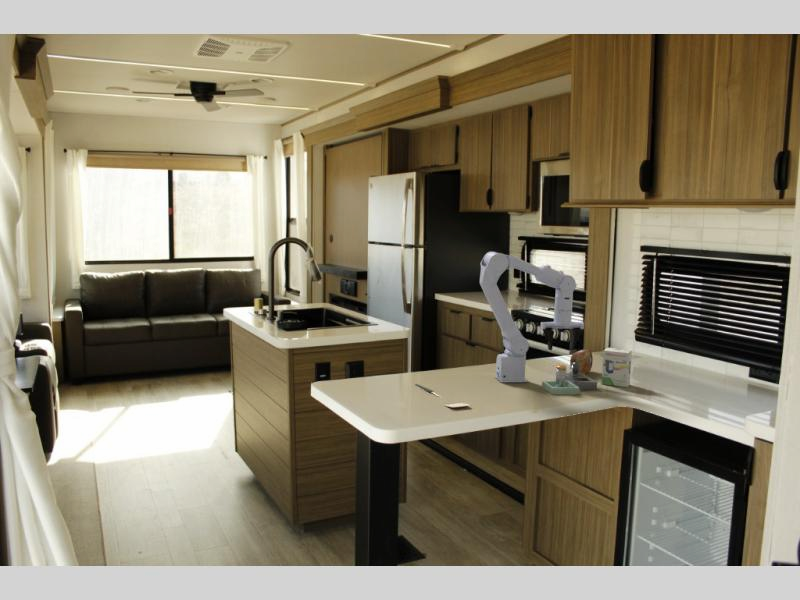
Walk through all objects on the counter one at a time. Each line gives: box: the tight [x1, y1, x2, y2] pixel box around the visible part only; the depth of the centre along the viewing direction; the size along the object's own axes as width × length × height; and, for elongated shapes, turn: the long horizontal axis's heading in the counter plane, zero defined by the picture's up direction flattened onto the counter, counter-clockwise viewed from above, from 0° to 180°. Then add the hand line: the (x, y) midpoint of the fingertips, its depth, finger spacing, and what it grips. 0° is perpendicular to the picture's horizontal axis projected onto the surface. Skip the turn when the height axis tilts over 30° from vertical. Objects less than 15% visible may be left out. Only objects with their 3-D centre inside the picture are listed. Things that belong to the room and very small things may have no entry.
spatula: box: [414, 383, 471, 408], centre depth 208 cm, size 6×29×2 cm, turn 25°
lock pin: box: [555, 364, 567, 387], centre depth 218 cm, size 3×3×8 cm
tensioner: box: [565, 362, 598, 391], centre depth 226 cm, size 7×13×7 cm, turn 8°
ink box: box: [601, 347, 633, 388], centre depth 228 cm, size 9×5×12 cm, turn 62°
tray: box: [541, 380, 581, 395], centre depth 218 cm, size 9×9×2 cm
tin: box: [569, 349, 594, 375], centre depth 242 cm, size 15×3×8 cm, turn 143°
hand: (560, 349), depth 231 cm, fingers open, 7 cm apart
